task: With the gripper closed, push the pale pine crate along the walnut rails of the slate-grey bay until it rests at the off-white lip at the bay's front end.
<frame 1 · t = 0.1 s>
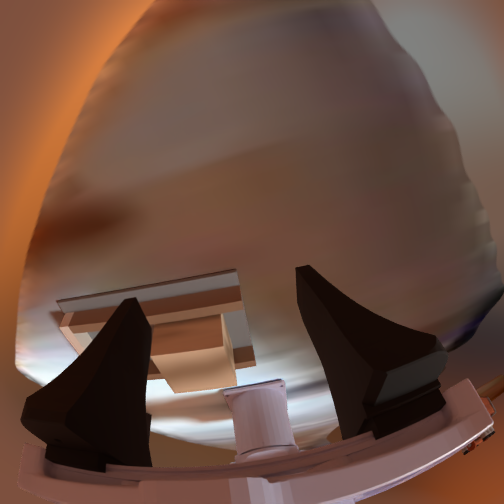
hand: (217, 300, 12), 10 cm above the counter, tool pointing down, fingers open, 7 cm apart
bay: (157, 333, 27), on the counter
crate: (196, 330, 26), resting on bay
milk bottle holder: (463, 411, 79), on the counter
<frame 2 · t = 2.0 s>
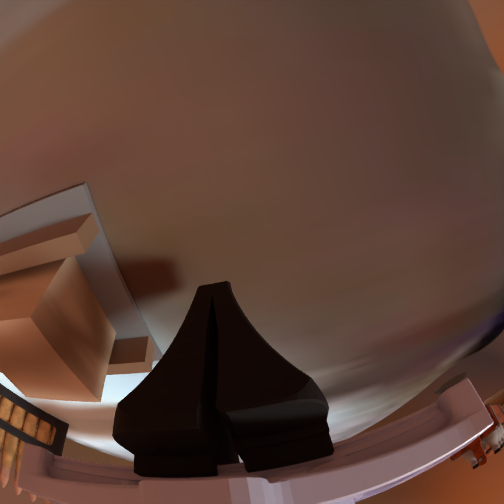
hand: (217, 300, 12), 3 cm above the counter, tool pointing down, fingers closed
ammunition clip: (29, 403, 21), on the counter
bay: (19, 304, 14), on the counter
crate: (56, 302, 14), resting on bay
milk bottle holder: (472, 419, 67), on the counter
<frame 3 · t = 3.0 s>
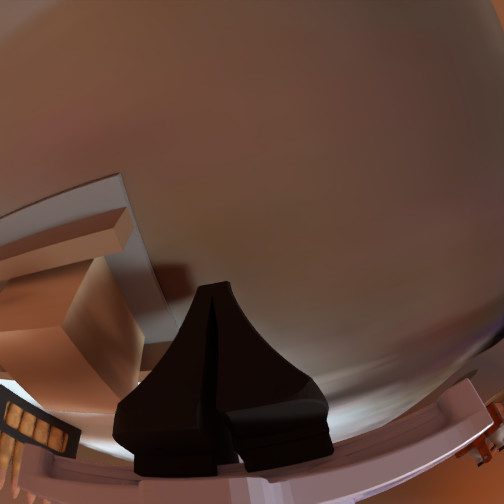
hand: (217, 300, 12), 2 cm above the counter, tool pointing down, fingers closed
ammunition clip: (39, 409, 21), on the counter
bay: (33, 308, 13), on the counter
crate: (78, 305, 13), resting on bay
milk bottle holder: (477, 418, 66), on the counter
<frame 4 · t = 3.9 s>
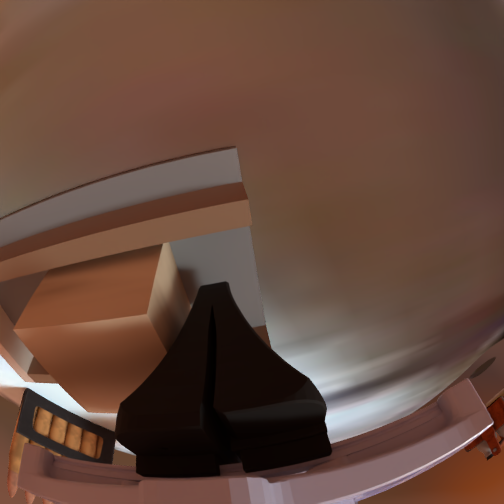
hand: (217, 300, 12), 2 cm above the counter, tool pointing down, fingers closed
ammunition clip: (70, 413, 21), on the counter
bay: (92, 299, 14), on the counter
crate: (128, 296, 13), resting on bay, touching gripper
milk bottle holder: (485, 412, 67), on the counter
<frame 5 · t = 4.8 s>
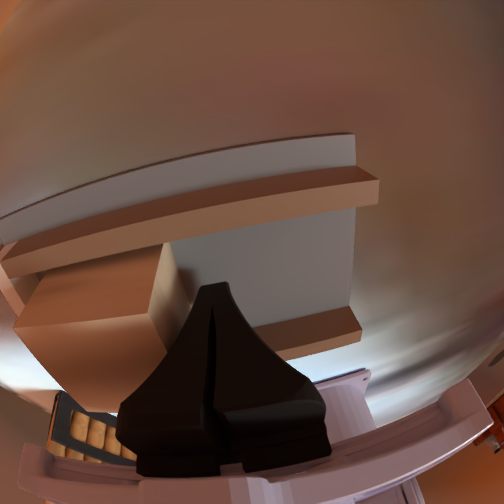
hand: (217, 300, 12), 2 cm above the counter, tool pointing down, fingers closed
ammunition clip: (107, 415, 21), on the counter
bay: (175, 284, 14), on the counter
crate: (128, 295, 13), resting on bay, touching gripper
milk bottle holder: (491, 407, 67), on the counter
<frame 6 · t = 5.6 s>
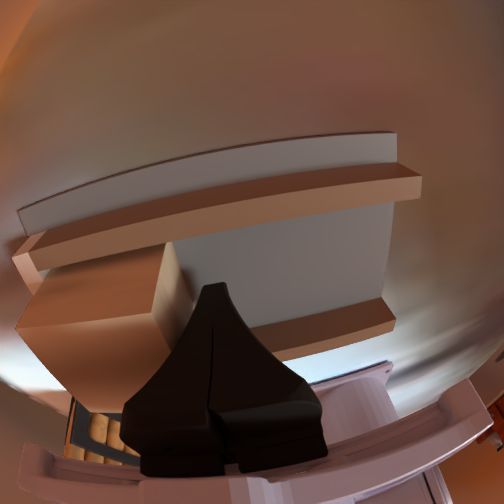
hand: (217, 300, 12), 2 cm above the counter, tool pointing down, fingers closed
ammunition clip: (126, 415, 21), on the counter
bay: (219, 276, 14), on the counter
crate: (130, 295, 13), resting on bay, touching gripper
milk bottle holder: (494, 406, 68), on the counter
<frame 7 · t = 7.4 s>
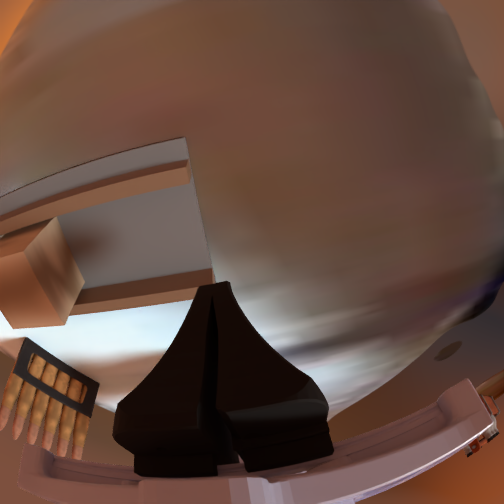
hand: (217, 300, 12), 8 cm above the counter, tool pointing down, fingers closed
ammunition clip: (61, 363, 26), on the counter
bay: (88, 245, 19), on the counter
crate: (43, 256, 18), resting on bay
milk bottle holder: (466, 410, 74), on the counter
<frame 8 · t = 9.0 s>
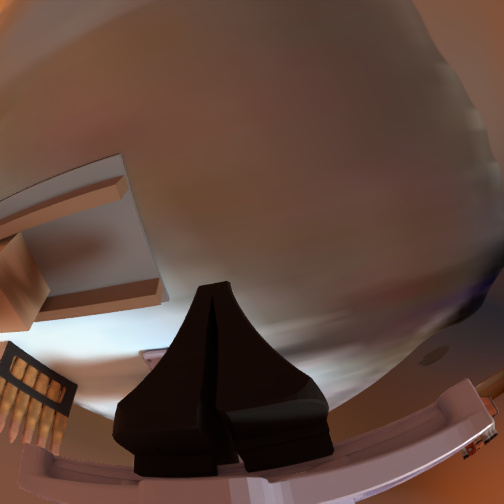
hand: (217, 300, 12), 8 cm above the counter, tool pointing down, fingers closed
ammunition clip: (41, 365, 26), on the counter
bay: (50, 256, 19), on the counter
crate: (14, 267, 18), resting on bay
milk bottle holder: (463, 411, 74), on the counter
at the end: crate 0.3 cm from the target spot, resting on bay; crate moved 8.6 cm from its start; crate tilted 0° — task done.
